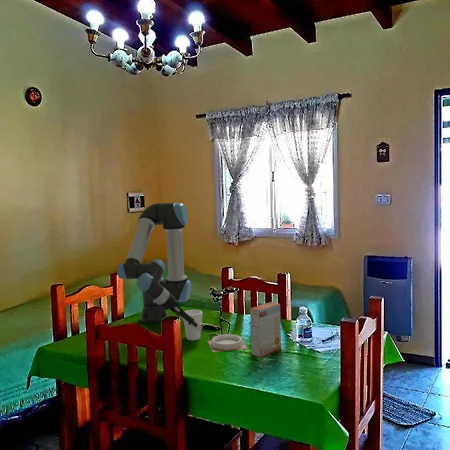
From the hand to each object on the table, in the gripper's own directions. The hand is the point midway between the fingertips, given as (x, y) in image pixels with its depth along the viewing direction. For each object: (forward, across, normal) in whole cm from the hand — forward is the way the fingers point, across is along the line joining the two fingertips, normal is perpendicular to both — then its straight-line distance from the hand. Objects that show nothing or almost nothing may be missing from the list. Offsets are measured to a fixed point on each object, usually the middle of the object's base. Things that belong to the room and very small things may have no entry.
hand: (195, 325), depth 224 cm
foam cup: (+4, 0, -5) cm, 7 cm away
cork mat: (+11, +16, +2) cm, 19 cm away
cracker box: (+19, +32, +10) cm, 39 cm away
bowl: (+11, +16, +2) cm, 19 cm away
